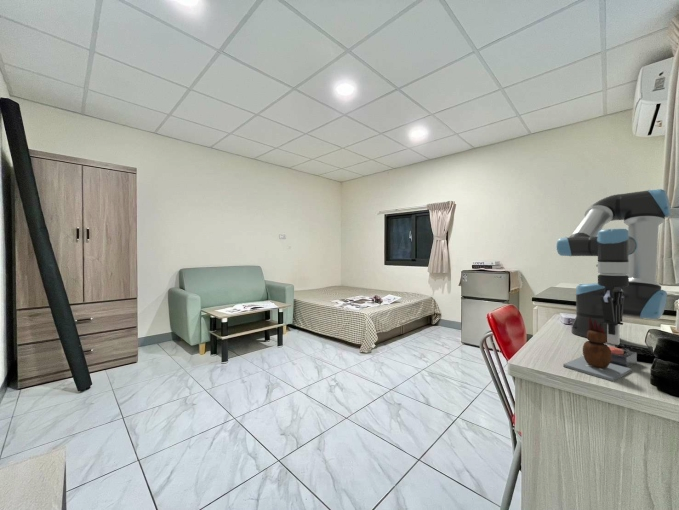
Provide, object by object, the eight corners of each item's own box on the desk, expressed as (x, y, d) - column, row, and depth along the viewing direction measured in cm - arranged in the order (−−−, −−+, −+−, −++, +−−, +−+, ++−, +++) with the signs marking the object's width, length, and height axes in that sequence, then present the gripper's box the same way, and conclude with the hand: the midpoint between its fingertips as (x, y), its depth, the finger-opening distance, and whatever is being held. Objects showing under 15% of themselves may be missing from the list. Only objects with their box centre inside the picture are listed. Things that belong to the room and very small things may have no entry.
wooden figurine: (578, 361, 91) (578, 316, 91) (596, 361, 91) (596, 316, 91) (597, 370, 84) (597, 321, 84) (616, 370, 84) (616, 321, 84)
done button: (606, 354, 97) (606, 345, 97) (626, 358, 93) (626, 349, 93) (600, 356, 95) (600, 348, 95) (620, 361, 90) (620, 352, 90)
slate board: (582, 358, 96) (582, 356, 96) (631, 371, 86) (631, 368, 86) (563, 366, 89) (563, 363, 89) (613, 381, 79) (613, 378, 79)
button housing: (601, 354, 100) (601, 344, 100) (636, 362, 92) (636, 352, 92) (590, 359, 96) (590, 349, 96) (626, 368, 88) (626, 357, 88)
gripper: (606, 272, 100) (606, 337, 100) (590, 274, 94) (590, 343, 94) (635, 274, 93) (635, 343, 94) (620, 276, 87) (621, 350, 88)
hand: (613, 343), depth 94 cm, fingers closed
